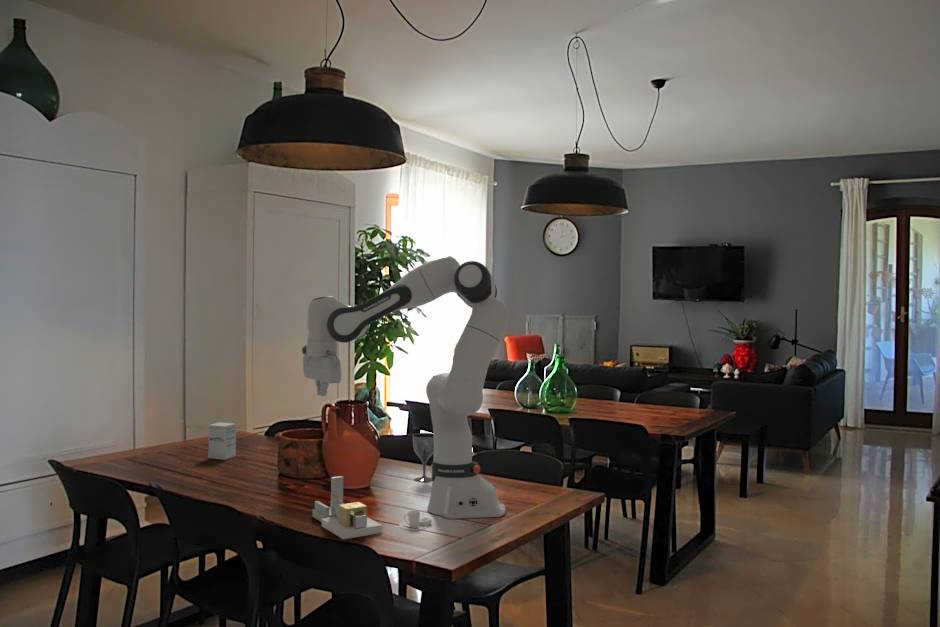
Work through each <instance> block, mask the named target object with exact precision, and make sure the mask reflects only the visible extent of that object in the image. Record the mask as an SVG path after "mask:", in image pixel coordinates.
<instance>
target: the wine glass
mask: <svg viewBox="0 0 940 627" xmlns="http://www.w3.org/2000/svg"><path fill="white" fill-rule="evenodd" d="M412 446H413V451H414V453H415V454H416V456H417V457H418V458H419V459H420V461H421V464H422V476H419V477H415V478H413V481H415V482H417V483H431V482H433V481H432V478H431V476H430V477H429V476H427V475H426V467H427V463H428V461H429V459H430V458H431V457H432V456H433V455H434V433H431V432H419V433H418V432H417V433H413V434H412Z"/></svg>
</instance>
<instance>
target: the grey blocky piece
mask: <svg viewBox="0 0 940 627" xmlns="http://www.w3.org/2000/svg"><path fill="white" fill-rule="evenodd" d="M329 517H335V516H334V515H332V514H331V506H328V505H326V504H325V503H323V502H321V501H319V500H315V501H314V509H312V518H314V519H315V520H317V521H318V522H321V523H322V519H323V518H329Z"/></svg>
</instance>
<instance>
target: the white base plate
mask: <svg viewBox="0 0 940 627" xmlns="http://www.w3.org/2000/svg"><path fill="white" fill-rule="evenodd" d="M321 527H322V528H324V529H325V530H326V531H329V532H330V533H332V534H333V535H335V536H337V537H338V538H340V539H342V540H346V539H353V538H359V537H366V536H370V535H375V534H382V533H383V524H381V523H379V522H377V521H376V520H374V519H371V518H370V517H368V516H367V524H366V526H365V527H360V528H355V527H353V526H352V525H350V527H348V528H346V527H344V526H343V525H341V524H339V523H338V518H337V517H336V516H335V517H329V518H323V519H322V522H321Z"/></svg>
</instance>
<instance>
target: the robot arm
mask: <svg viewBox="0 0 940 627" xmlns="http://www.w3.org/2000/svg"><path fill="white" fill-rule="evenodd" d="M450 293H455V294H456V295H457V296H458V297H459V298H460V299H461V301H463V302H464V303H465V304H466V305H467V306H468V307H470V308H471V314H470V316H469V319H468V321H467V323H466V324H465V327H464V328H463V330H462V333H461V335H460V337H459V339H458V341H457V343H456V345H455V347H454V350H453V354H454V356H453V360H452V365H451V369H450V372H449V373H448V372H444V373H439V374H436V375H434V376H433V377H431V379H429V381H428V383H427V385H426V388H425V389H426V390H425V393H426V397H427V400H428V404H429V409H430V412H429V413H430V418H431V423H432V424H431V425H432V432H433V433H432V434H434V453H433V460H432V461H431V476H430V478H432V483H431V491H430V492H431V493H430V496H429V502H428V506H427V509H426V510H427V511H428V512H429V513H430V514H433V515H437V516H441V517H444V518H446V519H451V520H455V519H473V518H474V519H475V518H478V519H479V518H499V517H502V516H504V515H505V514H506V506H505V504H504V503H503V502H501V501H499V498H498V492H497V490H496V488H495V487H494V485H493V484H491V483H490V482H489V481H488V480H486V479H485V478H484V477H482V476H481V475H480V474H479V473H480V472H481V466H480V465H479V463H478V462H477V461H474V460H472V459H473V433H472V430H471V428H470V424H469V420H468V416H472V415H475V414H476V413H477V412H478V411H479V410H480V409H481V407H482V405H483V403H484V394H483V390H484V386H485V382H486V377H487V374H488V370H489V366H490V364H491V362H492V359H493V358H494V356H495V353H496V351H497V349H498V348H499V345H500V343H501V341H502V338H503V336H504V334H505V332H506V328H507V325H508V322H509V317H510V309H509V307H508V306H507V304H505V303H504V302H503V301H502V300H500V299H498V298H497V294H498V289H497V286H496V283H495V279H494V277H493V275H492V273H490V270H489V269H488V268H487V266H486V265H485V264H483V263H481V262H479V261H475V260H471V261H465V262H463V263H462V264H460V263H459V262H458V260H457V259H456V258H454V257H453V256H450V255H444V256H441V257H437V258H435V259H432V260H430V261H427V262H425V263H423V264H421V265H419V266H417V267H415V268H413V269H412V270H410V271H409V272H408V273H405V275H404V276H402V277H401V278H400V279H398V280H397V281H396V282H395V283H394V284H392V285H391V286H390V287H389V288H387V289H386V290H385V291H383V292H382V293H380V294H378V295H375V296H373V297H371V298H370V299H368V300H366V301H364V302H362V303H361V304H357V305H355V306H351V305H349V304H346V303H344V302H342V301H340V300H339V299H338V298H336V297H335V296H333V295H327V296H320V297H315V298H314V299H312V300H311V301H310V302H309V305H308V308H307V310H308V312H307V329H308V336H307V342H306V344H305V345H304V346H302V348H301V354H302V355H303V357H302V367H303V368H302V369H303V375H304V377H305V378H307V379H310V380H315V381H314V382H315V386H316V390H317V396H320V397H327V394H328V393H327V392H328V391H327V390H328V388H329V384H340V382H342V368H341V366H342V365H341V360H340V358H339V357H338V342H339V343H344V344H346V343H351V342H352V341H354V340H356V339H359V338H360V337H362V336H363V335H365V334H366V333H367V332H368V330H369V325H370V324H372V323H375V322H376V321H378V320H380V319H382V318H383V317H385V316H387V315H390V314H392V313H394V312H398V311H401V310H404V309H405V310H406V309H412V308H414V309H415V308H417V307H421V306H423V305H426V304H429V303H431V302H433V301H435V300H437V299H438V298H440V297H443V296H445V295H446V294H450Z"/></svg>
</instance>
